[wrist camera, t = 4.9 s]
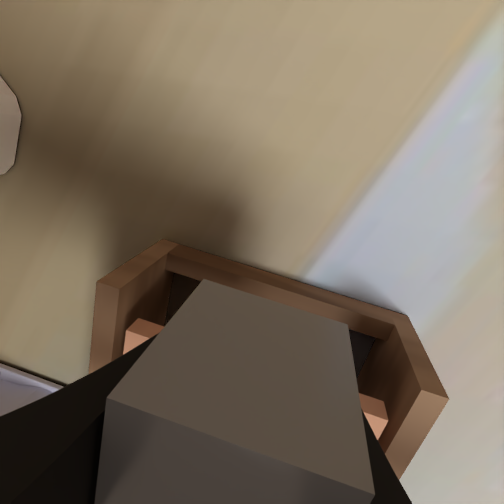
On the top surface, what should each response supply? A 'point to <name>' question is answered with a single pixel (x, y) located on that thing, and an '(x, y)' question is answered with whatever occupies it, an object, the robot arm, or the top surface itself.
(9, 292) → the top surface
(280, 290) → the trapdoor box
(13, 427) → the robot arm
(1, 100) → the cup
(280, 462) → the grey block
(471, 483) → the top surface
